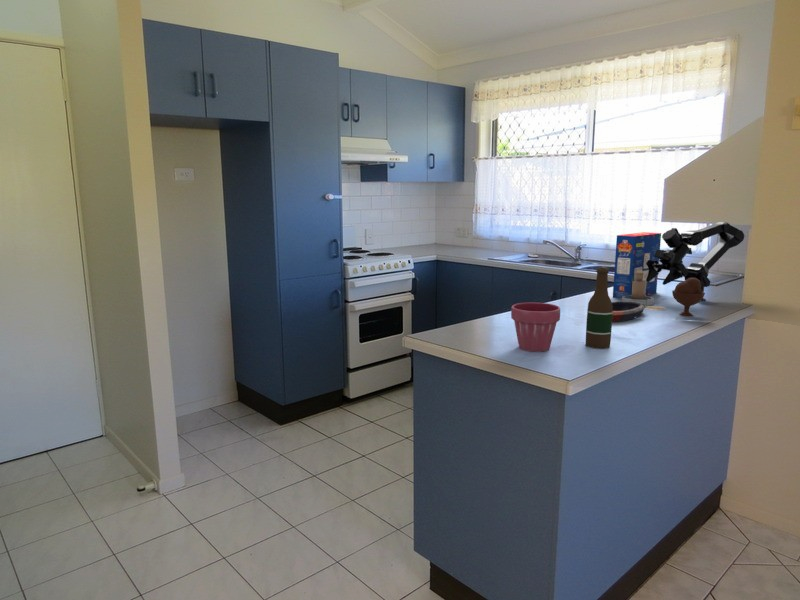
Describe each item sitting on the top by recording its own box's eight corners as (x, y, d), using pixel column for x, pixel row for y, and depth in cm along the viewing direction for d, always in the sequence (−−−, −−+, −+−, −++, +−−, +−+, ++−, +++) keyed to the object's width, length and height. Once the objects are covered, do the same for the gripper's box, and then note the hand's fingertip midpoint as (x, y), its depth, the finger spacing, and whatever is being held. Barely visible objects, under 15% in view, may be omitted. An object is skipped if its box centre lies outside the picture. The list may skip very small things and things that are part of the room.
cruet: (632, 300, 248) (634, 269, 245) (645, 301, 245) (648, 270, 242) (629, 302, 243) (632, 271, 241) (643, 303, 240) (646, 272, 238)
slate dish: (620, 300, 251) (620, 294, 251) (650, 302, 248) (650, 295, 248) (624, 306, 240) (624, 299, 239) (655, 307, 237) (655, 300, 236)
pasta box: (639, 290, 277) (643, 232, 272) (656, 292, 272) (661, 233, 267) (612, 298, 258) (616, 235, 253) (630, 300, 253) (634, 236, 247)
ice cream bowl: (694, 313, 225) (698, 275, 222) (706, 319, 214) (710, 279, 211) (666, 313, 226) (669, 275, 223) (677, 319, 215) (680, 279, 212)
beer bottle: (580, 342, 181) (585, 266, 177) (604, 342, 182) (609, 266, 177) (590, 349, 173) (595, 270, 169) (615, 348, 174) (621, 269, 170)
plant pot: (505, 351, 172) (506, 308, 169) (515, 340, 184) (517, 300, 182) (554, 356, 166) (556, 312, 164) (561, 344, 179) (563, 304, 176)
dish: (656, 315, 223) (657, 302, 222) (612, 327, 204) (613, 313, 203) (619, 309, 234) (619, 297, 234) (574, 319, 215) (575, 306, 214)
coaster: (643, 307, 237) (643, 305, 237) (662, 307, 236) (662, 306, 236) (646, 310, 231) (647, 309, 231) (665, 311, 229) (665, 310, 229)
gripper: (650, 241, 253) (628, 268, 251) (684, 243, 235) (661, 272, 233) (663, 258, 257) (642, 284, 255) (698, 261, 239) (675, 290, 237)
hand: (654, 282), depth 245 cm, fingers open, 9 cm apart
